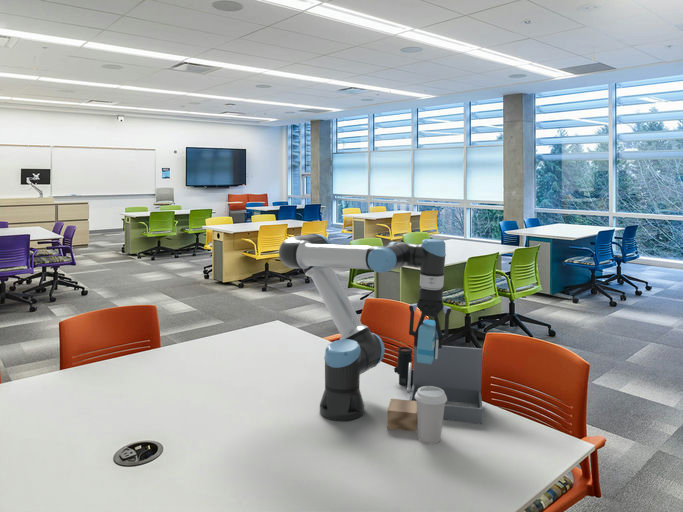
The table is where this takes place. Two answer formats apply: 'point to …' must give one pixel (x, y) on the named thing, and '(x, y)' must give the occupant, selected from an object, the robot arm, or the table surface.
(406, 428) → the stand
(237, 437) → the table surface
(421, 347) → the light blue box
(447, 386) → the case
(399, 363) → the scope
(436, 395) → the coffee cup
